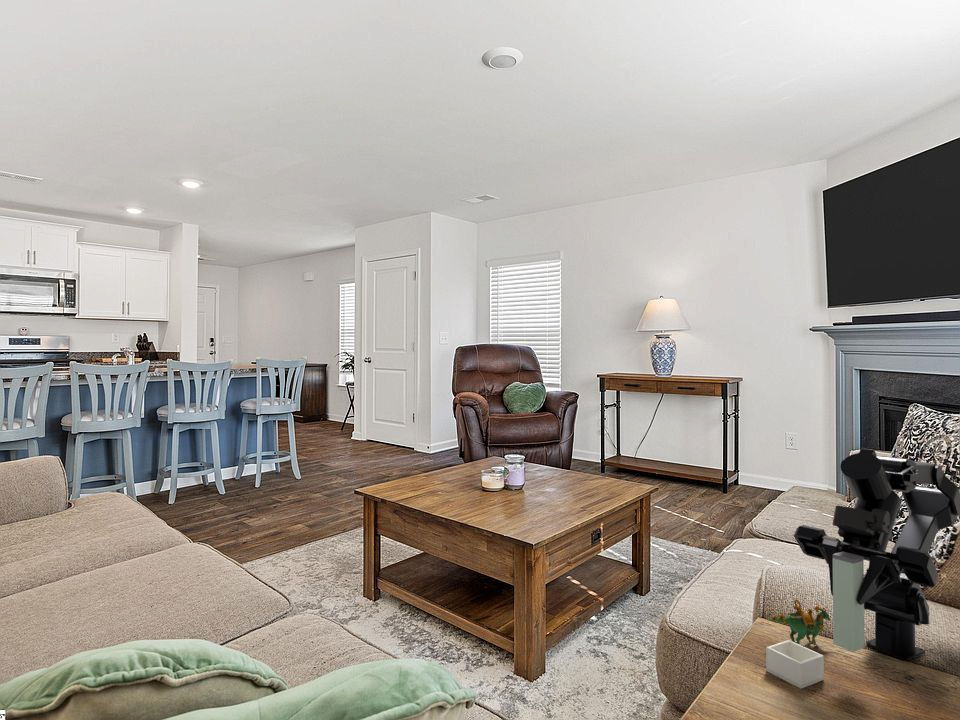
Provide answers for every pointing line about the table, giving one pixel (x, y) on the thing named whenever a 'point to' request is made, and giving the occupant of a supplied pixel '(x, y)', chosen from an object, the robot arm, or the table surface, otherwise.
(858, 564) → the sage bracket post
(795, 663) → the ceramic well
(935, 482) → the robot arm
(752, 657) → the table surface
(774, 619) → the figurine
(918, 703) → the table surface
